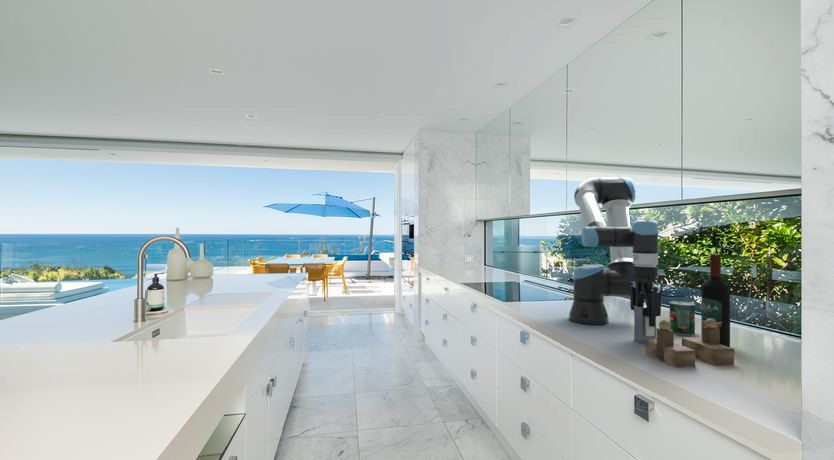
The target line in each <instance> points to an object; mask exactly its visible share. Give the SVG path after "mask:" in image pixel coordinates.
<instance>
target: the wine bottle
mask: <svg viewBox="0 0 834 460" xmlns="http://www.w3.org/2000/svg"><path fill="white" fill-rule="evenodd" d="M709 255H710V256H709V260H710V261H709V262H710V264H709V266H710V269H709V273H710V274H709V275H710V276H709V279H708V280H706V281H704V282H703V283H702V285H701V290H700V291H701V295H700V296H701V310H700V311H701V312H700V313H701V322H700V323H701V325H700V326H701V328H700V329H701V335H700V336H701V337H700V338H702V327H706V326H705V320H707V319H714V320H715V321H716V322H717V327H716V328H719V329H720V344H721V345H724V346H727V347H730V348H731V288H730V286H729V285H728V283H726V281H724V280H723V279H722V276H721V274H722V272H721V271H722V270H721V269H722V268H721V267H722V266H721V265H722V263H721V262H722V261H721V260H722V256H721V254H709Z"/></svg>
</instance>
